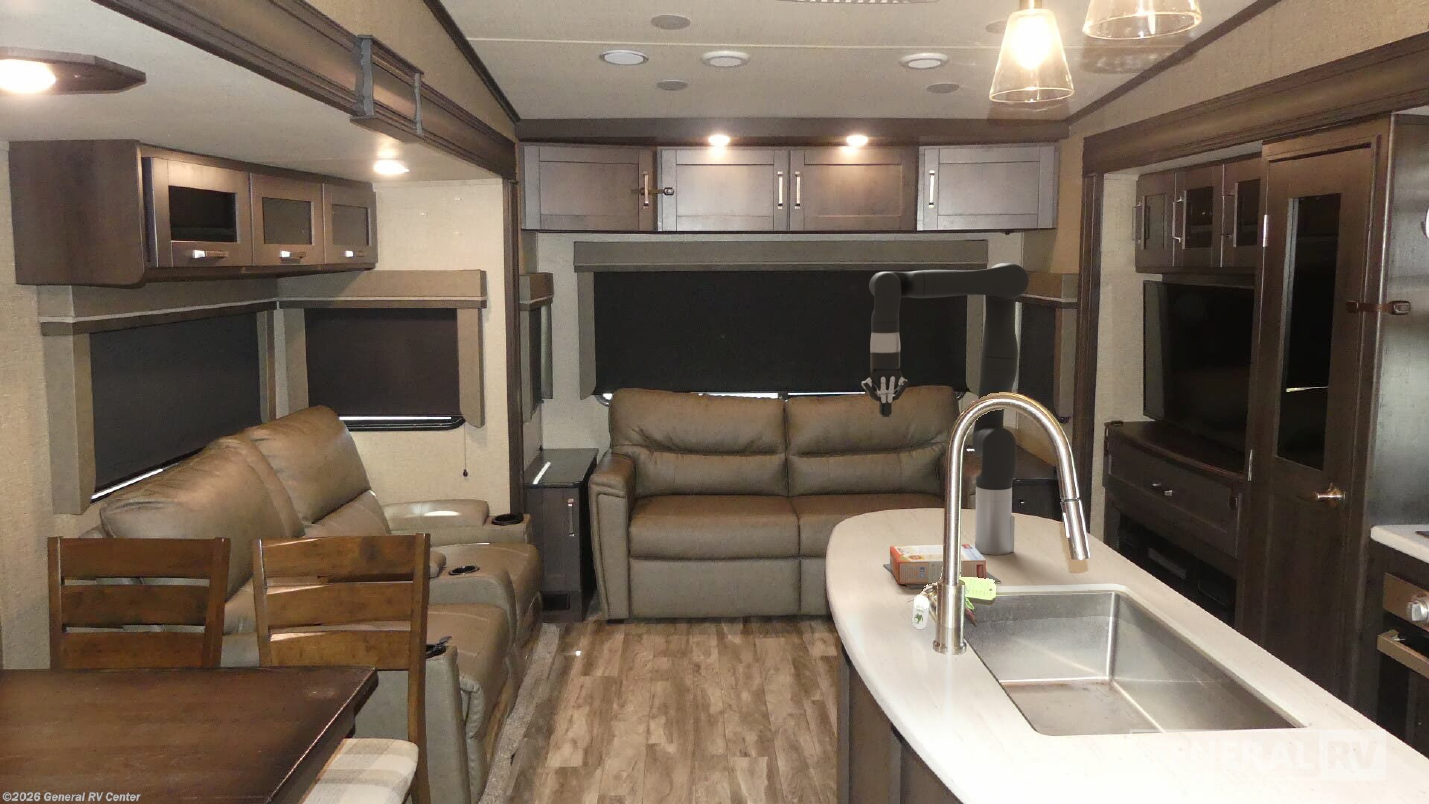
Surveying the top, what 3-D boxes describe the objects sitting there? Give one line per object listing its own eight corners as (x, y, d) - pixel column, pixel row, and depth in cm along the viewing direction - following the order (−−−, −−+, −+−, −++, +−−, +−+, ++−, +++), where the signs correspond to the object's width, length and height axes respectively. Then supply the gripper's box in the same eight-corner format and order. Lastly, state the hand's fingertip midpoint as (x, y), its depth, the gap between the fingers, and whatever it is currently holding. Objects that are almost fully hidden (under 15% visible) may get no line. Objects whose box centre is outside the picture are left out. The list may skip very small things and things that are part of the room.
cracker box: (897, 586, 252) (986, 583, 251) (897, 561, 251) (986, 558, 250) (889, 568, 266) (973, 566, 265) (889, 545, 265) (973, 542, 264)
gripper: (904, 348, 278) (904, 413, 280) (855, 349, 276) (856, 416, 278) (915, 350, 271) (914, 417, 273) (865, 352, 268) (865, 420, 271)
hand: (885, 416), depth 275 cm, fingers closed
